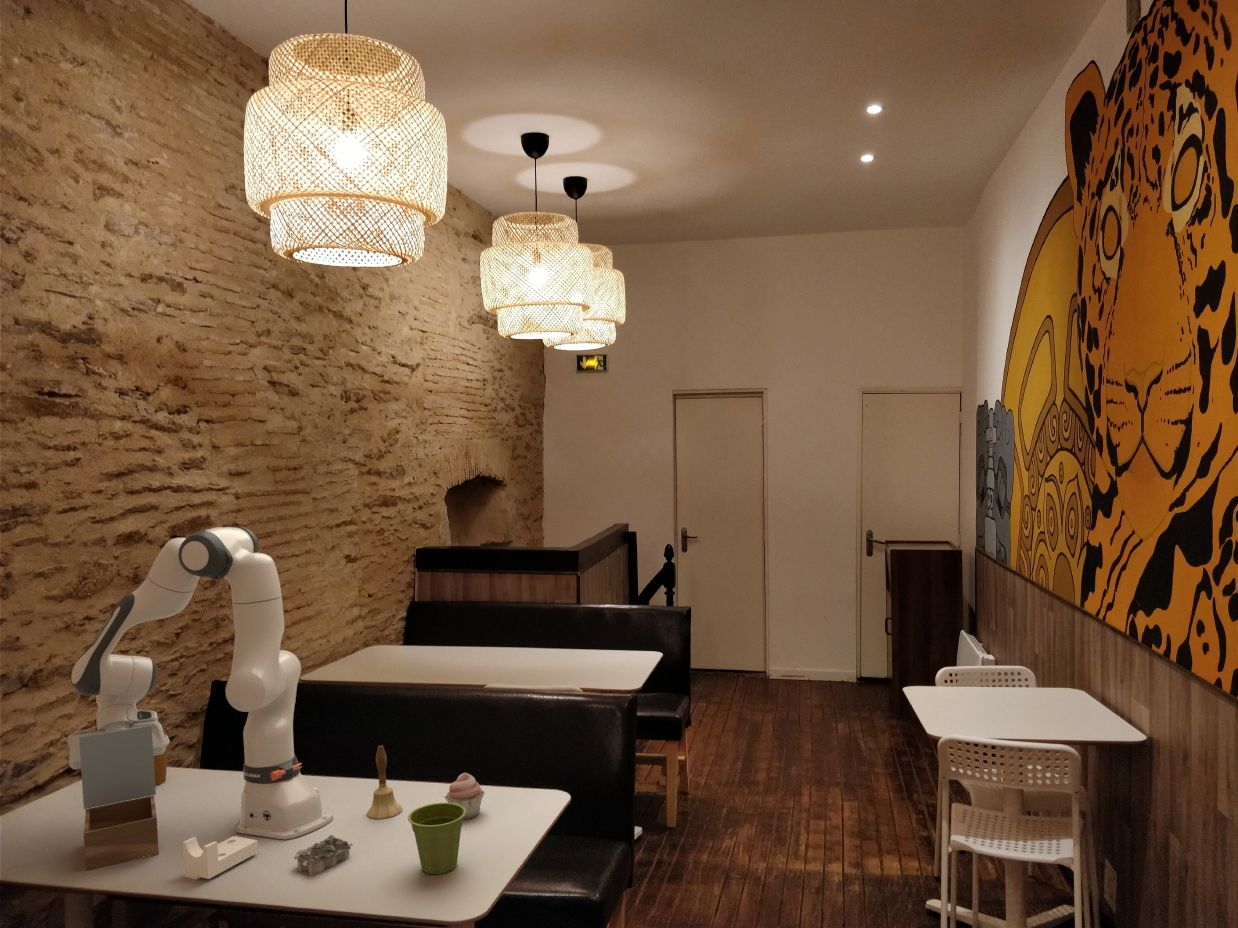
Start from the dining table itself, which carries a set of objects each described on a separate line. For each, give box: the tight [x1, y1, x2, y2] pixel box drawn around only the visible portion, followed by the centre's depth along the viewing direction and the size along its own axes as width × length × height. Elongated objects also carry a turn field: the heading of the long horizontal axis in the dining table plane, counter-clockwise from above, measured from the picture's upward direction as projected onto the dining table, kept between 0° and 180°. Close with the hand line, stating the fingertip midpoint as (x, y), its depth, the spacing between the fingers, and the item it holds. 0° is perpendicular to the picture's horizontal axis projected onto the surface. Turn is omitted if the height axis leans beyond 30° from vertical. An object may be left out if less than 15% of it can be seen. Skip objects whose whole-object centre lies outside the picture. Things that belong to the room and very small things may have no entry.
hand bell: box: [366, 745, 403, 820], centre depth 221 cm, size 8×8×16 cm
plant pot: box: [407, 802, 466, 875], centre depth 190 cm, size 12×12×11 cm
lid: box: [79, 725, 157, 810], centre depth 215 cm, size 17×15×1 cm
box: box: [83, 795, 160, 871], centre depth 207 cm, size 16×14×8 cm
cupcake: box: [444, 772, 486, 820], centre depth 217 cm, size 9×9×10 cm
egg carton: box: [293, 834, 354, 876], centre depth 195 cm, size 11×8×4 cm
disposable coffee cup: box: [154, 734, 171, 787], centre depth 249 cm, size 10×10×12 cm
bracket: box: [182, 835, 259, 880], centre depth 196 cm, size 13×7×8 cm, turn 154°
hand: (119, 776), depth 216 cm, fingers closed, pressing on lid
